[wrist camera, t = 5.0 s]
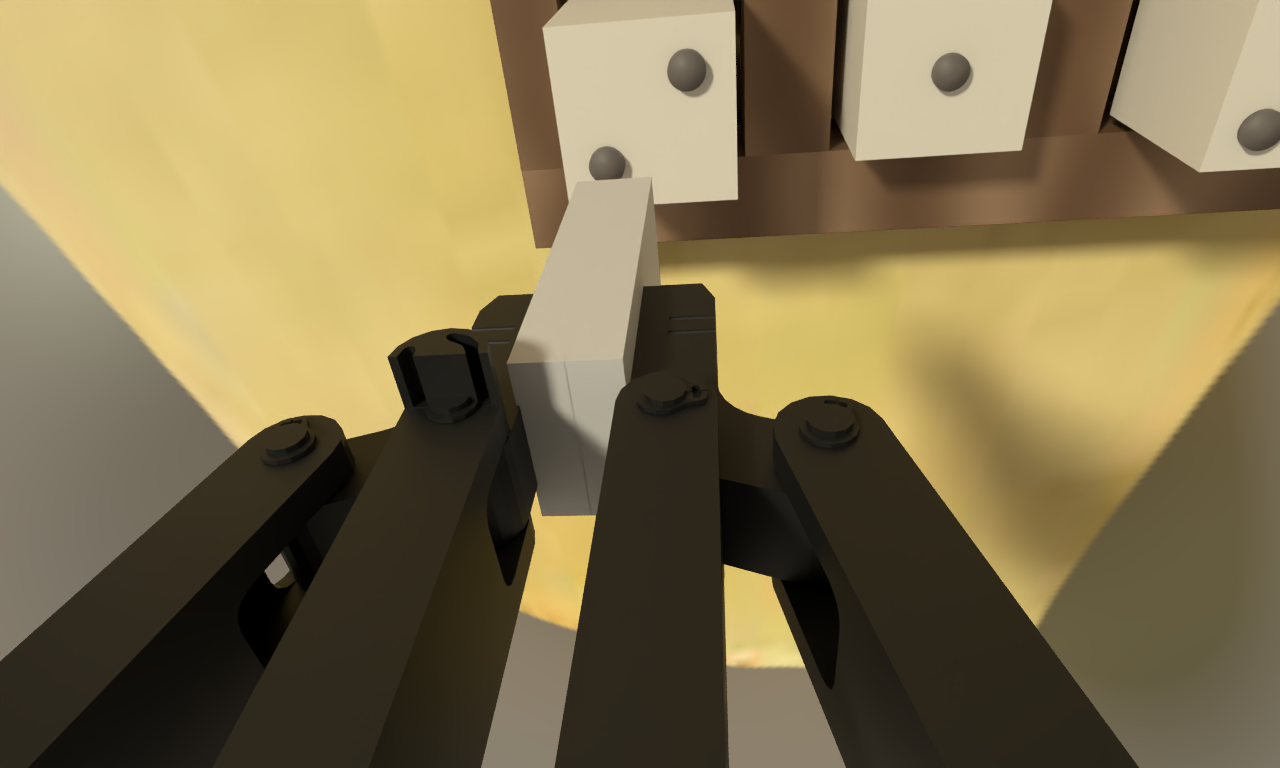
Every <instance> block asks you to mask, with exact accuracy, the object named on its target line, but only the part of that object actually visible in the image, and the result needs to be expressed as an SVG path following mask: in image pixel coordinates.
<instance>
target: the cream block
mask: <svg viewBox="0 0 1280 768" xmlns="http://www.w3.org/2000/svg"><path fill="white" fill-rule="evenodd" d="M1051 5H1052V0H837V18H836V36H835V53H834V71H833V89H832V106H831V112H832V114H833V116H834V118H835V120H836V122H837V124H838V127H839V129H840V131H841V133H842V135H843V137H844V139H845V141H846V143H847V145H848V147H849V149H850V151H851V153H852V155H853V157H854V159H855V161H862V160H878V159H894V158H910V157H925V156H941V155H957V154H973V153H989V152H1004V151H1020V150H1022V146H1023V141H1024V136H1025V131H1026V126H1027V122H1028V117H1029V112H1030V107H1031V102H1032V97H1033V92H1034V88H1035V83H1036V78H1037V73H1038V68H1039V63H1040V58H1041V54H1042V49H1043V44H1044V39H1045V34H1046V29H1047V24H1048V20H1049V15H1050V10H1051Z"/></svg>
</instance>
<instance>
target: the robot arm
mask: <svg viewBox="0 0 1280 768" xmlns="http://www.w3.org/2000/svg"><path fill="white" fill-rule="evenodd" d="M388 360H389V363H390V366H391V369H392V372H393V375H394V378H395V381H396V384H397V387H398V389H399V392H400V395H401V398H402V401H403V404H404V407H405V409H404V411H403V413H402V415H401V417H400V419H399V421H398V422H397V424H396V426H395V427H393V428H390V429H387V430H384V431H380V432H375V433H371V434H367V435H363V436H359V437H354V438H350V439H346V437H345V435H344V433H343V430H342V428H341V427H340V426H339V424H338V423H337V422H336V421H335V420H334V419H331V418H328V417H325V416H322V415H311V416H300V417H294V418H289V419H286V420H282V421H280V422H279V423H277V424H274V425H272V426H270V427H268V428H265V429H264V430H262V431H261V432H259V433H258V434H257V435H255V436H254V437H252V438H251V439H249V440H248V441H247V442H246V443H245V444H244V445H243V446H241V447H240V448H239V449H238V450H237V451H236V452H235V453H234V454H233V455H231V456H230V457H229V458H228V459H227V460H226V461H225V462H223V463H222V464H221V465H220V466H219V467H218V468H217V469H216V470H215V471H213V472H212V473H211V474H210V475H209V476H208V477H207V478H206V479H204V480H203V481H202V482H201V483H200V484H199V485H198V486H197V487H195V488H194V489H193V490H192V491H191V492H190V493H189V494H188V495H186V496H185V497H184V498H183V499H182V500H181V501H180V502H179V503H177V504H176V505H175V506H174V507H173V508H172V509H171V510H170V511H169V512H167V513H166V514H165V515H164V516H163V517H162V518H161V519H160V520H159V521H157V522H156V523H155V524H154V525H153V526H152V527H151V528H149V529H148V530H147V531H146V532H145V533H144V534H143V535H142V536H140V537H139V538H138V539H137V540H136V541H135V542H134V543H133V544H131V545H130V546H129V547H128V548H127V549H126V550H125V551H124V552H122V553H121V554H120V555H119V556H118V557H117V558H116V559H115V560H113V561H112V562H111V563H110V564H109V565H108V566H107V567H106V568H104V569H103V570H102V571H101V572H100V573H99V574H98V575H97V576H96V577H94V578H93V579H92V580H91V581H90V582H89V583H88V584H86V585H85V586H84V587H83V588H82V589H81V590H80V591H79V592H77V593H76V594H75V595H74V596H73V597H72V598H71V599H70V600H68V602H66V603H65V604H64V605H63V606H62V607H61V608H60V609H59V610H57V611H56V612H55V613H54V614H53V615H52V616H51V617H49V618H48V619H47V620H46V621H45V622H44V623H43V624H42V625H41V626H39V627H38V628H37V629H36V630H35V631H34V632H33V633H31V634H30V635H29V636H28V637H27V638H26V639H25V640H24V641H23V642H21V643H20V644H19V645H18V646H17V647H16V648H15V649H14V650H12V651H11V652H10V653H9V654H8V655H7V656H6V657H5V658H3V659H2V660H1V661H0V768H481V765H482V761H483V757H484V753H485V749H486V744H487V740H488V736H489V732H490V728H491V724H492V720H493V715H494V711H495V707H496V703H497V699H498V695H499V690H500V686H501V682H502V678H503V674H504V670H505V666H506V662H507V657H508V653H509V649H510V644H511V641H512V636H513V632H514V628H515V624H516V620H517V616H518V612H519V608H520V603H521V599H522V595H523V591H524V587H525V583H526V578H527V574H528V570H529V566H530V562H531V558H532V554H533V549H534V545H535V530H534V526H533V522H532V518H531V514H530V512H531V508H532V504H533V501H534V497H535V493H536V492H537V496H538V500H539V505H540V509H541V513H542V516H577V515H596V521H595V527H594V533H593V539H592V545H591V551H590V557H589V563H588V569H587V575H586V581H585V587H584V593H583V599H582V605H581V611H580V617H579V623H578V629H577V636H576V642H575V648H574V654H573V660H572V666H571V672H570V678H569V684H568V690H567V696H566V703H565V708H564V714H563V720H562V726H561V732H560V738H559V744H558V750H557V756H556V762H555V768H729V757H728V756H729V753H728V719H727V718H728V714H727V676H726V638H725V600H724V564H725V565H729V566H733V567H737V568H740V569H744V570H748V571H751V572H755V573H759V574H763V575H766V576H770V577H772V583H773V588H774V590H775V593H776V595H777V598H778V600H779V603H780V605H781V607H782V610H783V612H784V615H785V617H786V620H787V622H788V625H789V627H790V630H791V632H792V635H793V637H794V640H795V642H796V645H797V647H798V650H799V652H800V655H801V657H802V659H803V662H804V664H805V667H806V669H807V672H808V674H809V677H810V679H811V681H812V684H813V686H814V689H815V692H816V694H817V696H818V699H819V702H820V704H821V706H822V709H823V711H824V714H825V716H826V719H827V721H828V724H829V726H830V729H831V731H832V734H833V736H834V738H835V741H836V744H837V746H838V748H839V751H840V753H841V756H842V758H843V761H844V763H845V766H846V768H1139V767H1138V766H1137V764H1136V763H1135V761H1134V760H1133V759H1132V757H1131V756H1130V755H1129V753H1128V752H1127V751H1126V749H1125V748H1124V747H1123V745H1122V744H1121V742H1120V741H1119V740H1118V738H1117V737H1116V736H1115V734H1114V733H1113V731H1112V730H1111V729H1110V727H1109V726H1108V725H1107V723H1106V722H1105V721H1104V719H1103V718H1102V717H1101V715H1100V714H1099V712H1098V711H1097V710H1096V708H1095V707H1094V706H1093V704H1092V703H1091V702H1090V700H1089V699H1088V697H1087V696H1086V695H1085V694H1084V692H1083V691H1082V689H1081V688H1080V687H1079V685H1078V684H1077V683H1076V681H1075V680H1074V678H1073V677H1072V676H1071V674H1070V673H1069V672H1068V670H1067V669H1066V668H1065V666H1064V665H1063V664H1062V662H1061V661H1060V659H1059V658H1058V657H1057V655H1056V654H1055V653H1054V651H1053V650H1052V649H1051V647H1050V646H1049V644H1048V643H1047V642H1046V640H1045V639H1044V638H1043V636H1042V635H1041V634H1040V632H1039V631H1038V629H1037V628H1036V627H1035V625H1034V624H1033V623H1032V621H1031V620H1030V619H1029V617H1028V616H1027V614H1026V613H1025V612H1024V610H1023V609H1022V608H1021V606H1020V605H1019V604H1018V602H1017V601H1016V599H1015V598H1014V597H1013V595H1012V594H1011V593H1010V591H1009V590H1008V589H1007V587H1006V586H1005V585H1004V583H1003V582H1002V580H1001V579H1000V578H999V576H998V575H997V574H996V572H995V571H994V570H993V568H992V567H991V565H990V564H989V563H988V561H987V560H986V559H985V557H984V556H983V555H982V553H981V552H980V551H979V549H978V548H977V546H976V545H975V544H974V542H973V541H972V540H971V538H970V537H969V536H968V534H967V533H966V531H965V530H964V529H963V527H962V526H961V525H960V523H959V522H958V521H957V519H956V518H955V516H954V515H953V514H952V512H951V511H950V510H949V508H948V507H947V506H946V504H945V503H944V502H943V500H942V499H941V497H940V496H939V495H938V493H937V492H936V491H935V489H934V488H933V487H932V485H931V484H930V482H929V481H928V480H927V478H926V477H925V476H924V474H923V473H922V472H921V470H920V469H919V468H918V466H917V465H916V463H915V462H914V461H913V459H912V458H911V457H910V455H909V454H908V453H907V451H906V450H905V448H904V447H903V446H902V444H901V443H900V442H899V440H898V439H897V438H896V436H895V435H894V433H893V432H892V431H891V429H890V428H889V427H888V425H887V424H886V423H885V421H884V420H883V419H882V418H881V417H880V416H879V415H878V414H877V413H876V412H875V411H873V410H872V409H871V408H870V407H868V406H866V405H864V404H861V403H859V402H857V401H855V400H852V399H848V398H842V397H836V396H814V397H807V398H804V399H801V400H798V401H795V402H792V403H790V404H789V405H788V406H786V407H785V408H784V409H782V410H781V411H780V412H779V413H778V415H777V417H776V419H770V418H765V417H760V416H756V415H753V414H749V413H746V412H744V411H742V410H740V409H738V408H735V407H734V406H732V405H731V404H730V403H729V402H727V401H726V400H725V399H724V397H723V396H722V395H721V393H720V392H719V388H718V367H717V341H716V315H715V297H714V296H713V295H712V294H711V293H710V292H709V291H708V290H707V288H706V287H705V286H704V285H703V284H702V283H700V284H680V285H661V281H660V269H659V257H658V245H657V234H656V222H655V210H654V198H653V186H652V177H641V178H626V179H610V180H595V181H580V182H577V183H576V186H575V189H574V191H573V194H572V196H571V199H570V201H569V204H568V207H567V209H566V212H565V214H564V217H563V220H562V222H561V225H560V227H559V230H558V232H557V235H556V238H555V240H554V243H553V245H552V248H551V250H550V253H549V256H548V258H547V261H546V263H545V266H544V269H543V271H542V274H541V276H540V279H539V281H538V284H537V287H536V289H535V292H534V294H523V295H503V296H498V297H497V298H495V299H494V300H493V301H492V302H490V303H489V304H488V305H487V306H486V307H484V308H483V309H482V310H481V311H480V312H479V314H478V316H477V318H476V320H475V322H474V324H473V326H472V330H469V329H456V328H449V329H442V330H436V331H431V332H428V333H425V334H422V335H419V336H416V337H413V338H411V339H410V340H408V341H406V342H404V343H403V344H401V345H399V346H398V347H397V348H396V349H395V350H394V351H393V352H392V353H391V354H390V355H389V356H388ZM280 553H281V554H282V556H283V558H284V560H285V562H286V564H287V566H288V568H289V570H290V571H289V572H288V573H287V574H286V576H285V577H284V578H282V579H281V580H280V581H279V582H277V583H276V584H272V583H271V582H270V580H269V578H268V577H267V575H266V573H265V569H266V568H267V567H268V566H269V565H270V564H271V563H272V562H273V561H274V559H275V558H276V557H277V556H278V555H279V554H280Z"/></svg>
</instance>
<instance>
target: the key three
mask: <svg viewBox="0 0 1280 768" xmlns="http://www.w3.org/2000/svg"><path fill="white" fill-rule="evenodd" d="M1110 115H1111V116H1113V117H1114V118H1116V119H1117V120H1119V121H1120V122H1122V123H1123V124H1125V125H1127V126H1128V127H1130V128H1131V129H1133V130H1134V131H1136V132H1137V133H1139V134H1141V135H1142V136H1144V137H1145V138H1147V139H1148V140H1150V141H1151V142H1153V143H1155V144H1156V145H1158V146H1159V147H1161V148H1162V149H1164V150H1165V151H1167V152H1169V153H1170V154H1172V155H1173V156H1175V157H1176V158H1178V159H1179V160H1181V161H1182V162H1184V163H1186V164H1187V165H1189V166H1190V167H1192V168H1193V169H1195V170H1196V171H1198V172H1213V171H1230V170H1247V169H1264V168H1280V0H1140V3H1139V7H1138V10H1137V14H1136V18H1135V22H1134V25H1133V29H1132V33H1131V37H1130V40H1129V44H1128V48H1127V52H1126V55H1125V59H1124V63H1123V67H1122V70H1121V74H1120V78H1119V82H1118V85H1117V89H1116V93H1115V97H1114V100H1113V104H1112V108H1111V111H1110Z"/></svg>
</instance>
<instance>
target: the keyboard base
mask: <svg viewBox="0 0 1280 768" xmlns="http://www.w3.org/2000/svg"><path fill="white" fill-rule="evenodd" d="M567 1H568V0H490V2H491V8H492V13H493V19H494V24H495V29H496V35H497V40H498V46H499V51H500V57H501V62H502V67H503V73H504V78H505V84H506V89H507V94H508V100H509V105H510V111H511V116H512V121H513V127H514V132H515V138H516V143H517V149H518V154H519V159H520V165H521V170H522V176H523V181H524V186H525V192H526V197H527V203H528V208H529V213H530V219H531V224H532V230H533V235H534V241H535V246H536V248H552V245H553V243H554V240H555V238H556V235H557V232H558V230H559V227H560V225H561V222H562V220H563V217H564V214H565V212H566V209H567V207H568V204H569V200H568V193H567V187H566V180H565V174H564V167H563V160H562V154H561V147H560V141H559V134H558V127H557V121H556V114H555V108H554V101H553V94H552V88H551V81H550V75H549V68H548V61H547V55H546V48H545V42H544V35H543V27H544V26H545V24H546V23H547V22H548V21H549V20H550V19H551V18H552V17H553V16H554V15H555V14H556V13H557V12H558V11H559V10H560V8H561V7H562V6H563V5H564V4H565V3H566V2H567ZM1132 2H1133V0H1052V5H1051V10H1050V15H1049V20H1048V24H1047V29H1046V34H1045V39H1044V44H1043V49H1042V54H1041V58H1040V63H1039V68H1038V73H1037V78H1036V83H1035V88H1034V92H1033V97H1032V102H1031V107H1030V112H1029V117H1028V122H1027V126H1026V131H1025V136H1024V141H1023V146H1022V150H1020V151H1004V152H989V153H973V154H957V155H941V156H925V157H910V158H894V159H878V160H862V161H855V159H854V157H853V155H852V153H851V151H850V149H849V147H848V145H847V143H846V141H845V139H844V137H843V135H842V133H841V131H840V129H839V127H838V124H837V122H836V120H835V119H831V106H832V89H833V71H834V53H835V36H836V18H837V0H740V51H741V125H739V126H737V176H738V199H737V200H720V201H703V202H686V203H669V204H654V210H655V222H656V234H657V242H667V241H686V240H704V239H723V238H742V237H761V236H780V235H798V234H817V233H836V232H855V231H874V230H893V229H911V228H930V227H949V226H968V225H987V224H1006V223H1024V222H1043V221H1062V220H1081V219H1100V218H1119V217H1137V216H1156V215H1175V214H1194V213H1213V212H1231V211H1250V210H1269V209H1280V168H1264V169H1247V170H1230V171H1213V172H1198V171H1196V170H1195V169H1193V168H1192V167H1190V166H1189V165H1187V164H1186V163H1184V162H1182V161H1181V160H1179V159H1178V158H1176V157H1175V156H1173V155H1172V154H1170V153H1169V152H1167V151H1165V150H1164V149H1162V148H1161V147H1159V146H1158V145H1156V144H1155V143H1153V142H1151V141H1150V140H1148V139H1147V138H1145V137H1144V136H1142V135H1141V134H1139V133H1137V132H1136V131H1134V130H1133V129H1131V128H1130V127H1128V126H1127V125H1125V124H1123V123H1122V122H1120V121H1119V120H1117V119H1116V118H1114V117H1113V116H1111V115H1110V111H1111V108H1112V104H1113V100H1114V99H1112V100H1107V97H1108V94H1109V90H1110V86H1111V82H1112V78H1113V75H1114V71H1115V67H1116V63H1117V59H1118V55H1119V52H1120V48H1121V44H1122V40H1123V36H1124V32H1125V29H1126V25H1127V21H1128V17H1129V13H1130V10H1131V6H1132Z"/></svg>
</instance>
